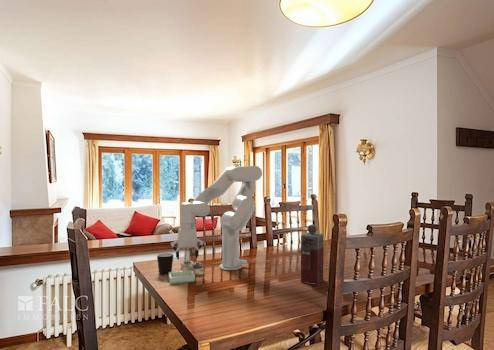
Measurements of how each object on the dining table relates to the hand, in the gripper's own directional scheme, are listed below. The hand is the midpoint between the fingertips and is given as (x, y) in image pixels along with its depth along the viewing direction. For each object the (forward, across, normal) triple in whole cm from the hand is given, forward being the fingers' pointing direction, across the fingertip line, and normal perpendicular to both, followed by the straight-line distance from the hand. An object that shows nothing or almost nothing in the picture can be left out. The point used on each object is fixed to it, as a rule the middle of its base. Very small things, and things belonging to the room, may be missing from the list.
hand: (187, 258), depth 177 cm
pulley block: (+8, -2, 0) cm, 9 cm away
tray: (+8, +4, +10) cm, 13 cm away
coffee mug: (+8, +10, -6) cm, 15 cm away
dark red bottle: (+8, -57, +30) cm, 65 cm away
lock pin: (+5, 0, 0) cm, 5 cm away
